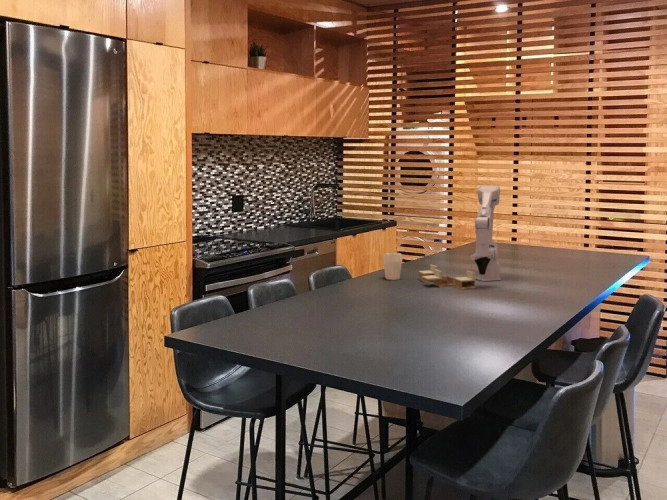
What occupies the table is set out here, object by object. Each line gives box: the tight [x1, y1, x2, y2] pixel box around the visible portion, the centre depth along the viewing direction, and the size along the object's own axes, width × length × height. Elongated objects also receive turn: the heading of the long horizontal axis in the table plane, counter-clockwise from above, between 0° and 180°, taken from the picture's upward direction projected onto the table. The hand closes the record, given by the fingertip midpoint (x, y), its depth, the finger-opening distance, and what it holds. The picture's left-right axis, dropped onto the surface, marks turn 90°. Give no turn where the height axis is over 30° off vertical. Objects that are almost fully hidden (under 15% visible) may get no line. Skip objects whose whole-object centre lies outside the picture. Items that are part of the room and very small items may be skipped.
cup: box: [382, 252, 403, 281], centre depth 321 cm, size 9×9×12 cm
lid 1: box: [418, 264, 439, 275], centre depth 315 cm, size 7×7×3 cm
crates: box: [418, 272, 476, 290], centre depth 306 cm, size 15×29×3 cm, turn 15°
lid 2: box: [422, 269, 443, 280], centre depth 301 cm, size 7×7×3 cm
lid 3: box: [454, 270, 476, 282], centre depth 296 cm, size 7×7×3 cm
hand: (482, 274), depth 298 cm, fingers closed
